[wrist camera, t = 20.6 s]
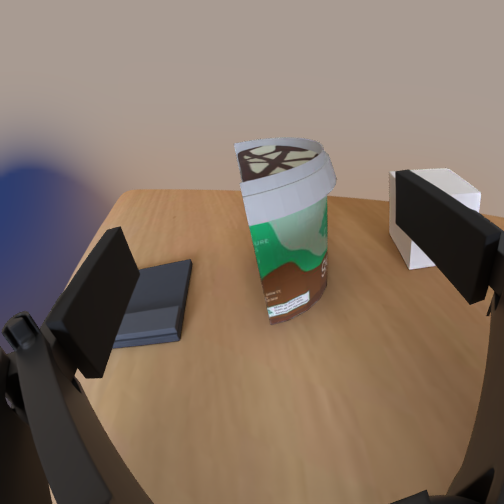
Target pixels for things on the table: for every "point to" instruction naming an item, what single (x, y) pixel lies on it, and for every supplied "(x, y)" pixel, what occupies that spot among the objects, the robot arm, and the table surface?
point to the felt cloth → (156, 306)
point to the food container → (287, 219)
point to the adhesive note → (445, 182)
